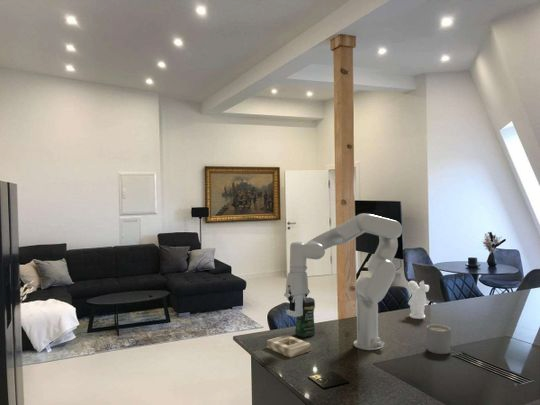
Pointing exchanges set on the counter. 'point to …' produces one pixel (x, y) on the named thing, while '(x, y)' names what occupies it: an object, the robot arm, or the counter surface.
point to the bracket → (297, 307)
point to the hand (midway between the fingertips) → (296, 309)
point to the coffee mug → (438, 339)
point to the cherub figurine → (417, 299)
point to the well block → (288, 345)
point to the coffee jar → (306, 320)
